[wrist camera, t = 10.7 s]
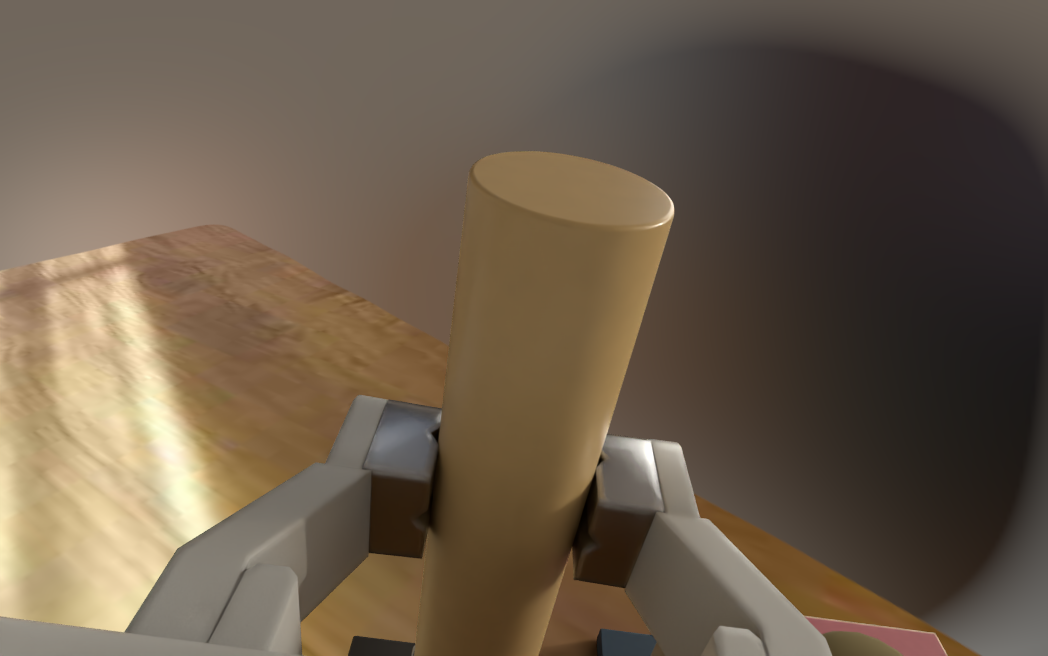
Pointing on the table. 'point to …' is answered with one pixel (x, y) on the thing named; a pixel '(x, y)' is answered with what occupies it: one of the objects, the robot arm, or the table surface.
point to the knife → (530, 387)
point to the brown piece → (857, 645)
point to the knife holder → (379, 647)
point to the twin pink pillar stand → (919, 649)
